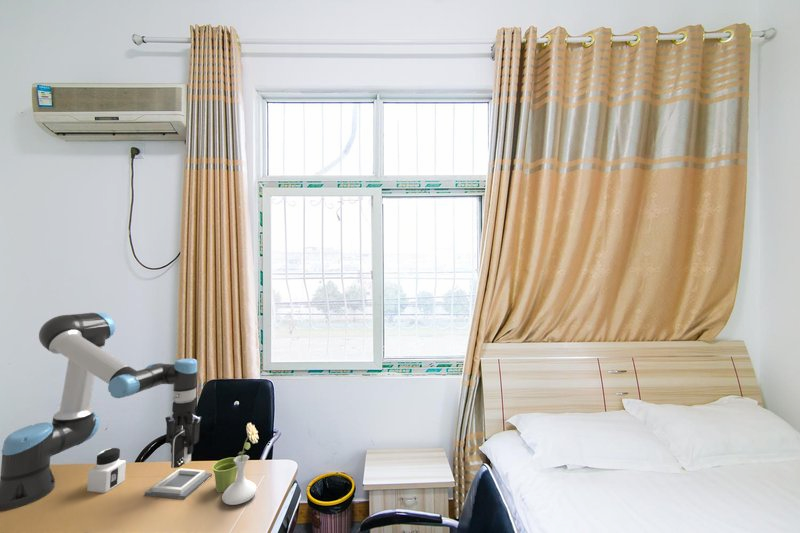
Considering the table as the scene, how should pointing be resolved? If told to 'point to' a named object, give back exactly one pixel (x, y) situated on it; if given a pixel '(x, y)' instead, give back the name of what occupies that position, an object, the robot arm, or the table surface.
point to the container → (106, 471)
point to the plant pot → (224, 473)
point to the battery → (178, 450)
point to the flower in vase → (242, 475)
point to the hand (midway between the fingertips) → (181, 461)
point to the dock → (179, 483)
